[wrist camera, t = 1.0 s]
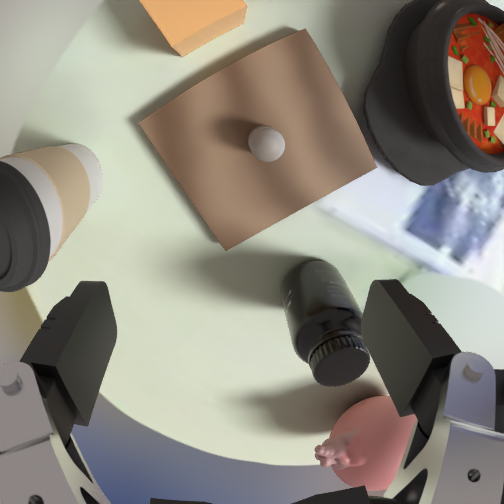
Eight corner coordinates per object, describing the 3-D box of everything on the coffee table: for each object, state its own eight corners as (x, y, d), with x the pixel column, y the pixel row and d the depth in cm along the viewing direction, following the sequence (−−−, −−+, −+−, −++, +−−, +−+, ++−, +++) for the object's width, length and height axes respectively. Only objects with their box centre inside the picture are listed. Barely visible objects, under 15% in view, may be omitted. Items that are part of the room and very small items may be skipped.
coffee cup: (130, 163, 27) (50, 223, 14) (90, 237, 30) (17, 330, 16) (59, 116, 24) (-52, 143, 11) (25, 192, 27) (-69, 258, 14)
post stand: (301, 31, 23) (317, 16, 18) (370, 164, 28) (397, 178, 23) (142, 122, 25) (123, 127, 20) (225, 244, 31) (225, 273, 26)
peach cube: (209, -25, 20) (205, -49, 15) (243, 23, 22) (247, 5, 17) (149, 8, 21) (132, -10, 16) (182, 57, 23) (171, 46, 18)
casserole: (453, -34, 18) (499, -51, 10) (531, 91, 24) (578, 101, 17) (311, 83, 25) (343, 76, 17) (423, 218, 31) (468, 252, 24)
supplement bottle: (266, 282, 34) (283, 367, 23) (322, 246, 32) (364, 319, 21) (300, 322, 36) (324, 404, 26) (351, 290, 35) (393, 365, 24)
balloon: (340, 357, 40) (375, 456, 26) (423, 384, 45) (459, 455, 31) (276, 419, 45) (289, 506, 31) (364, 435, 50) (385, 502, 37)
